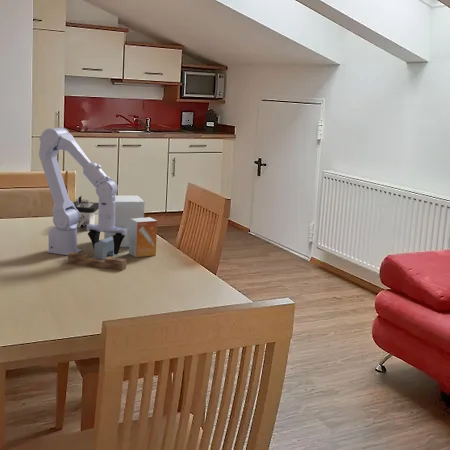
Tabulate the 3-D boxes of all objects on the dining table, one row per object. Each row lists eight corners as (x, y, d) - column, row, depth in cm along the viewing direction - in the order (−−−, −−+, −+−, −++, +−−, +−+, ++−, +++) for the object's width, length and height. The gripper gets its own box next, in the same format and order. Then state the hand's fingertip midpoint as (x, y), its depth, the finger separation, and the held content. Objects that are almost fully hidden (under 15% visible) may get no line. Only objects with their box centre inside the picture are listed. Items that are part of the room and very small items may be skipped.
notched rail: (67, 262, 218) (67, 253, 217) (72, 260, 221) (72, 251, 220) (122, 270, 213) (122, 261, 212) (126, 268, 216) (126, 258, 215)
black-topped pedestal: (61, 220, 282) (61, 189, 279) (121, 223, 282) (121, 193, 279) (41, 234, 255) (41, 201, 252) (107, 238, 254) (108, 205, 251)
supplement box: (137, 238, 256) (138, 195, 253) (143, 246, 244) (145, 201, 241) (103, 239, 252) (104, 195, 248) (108, 247, 240) (109, 201, 236)
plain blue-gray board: (94, 260, 222) (94, 243, 221) (109, 252, 234) (109, 236, 232) (102, 261, 222) (102, 244, 220) (117, 253, 233) (117, 237, 232)
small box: (136, 257, 229) (137, 222, 226) (128, 253, 234) (129, 218, 231) (156, 255, 233) (157, 220, 230) (148, 251, 238) (149, 216, 236)
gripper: (82, 214, 223) (82, 252, 225) (121, 219, 219) (120, 257, 222) (92, 210, 229) (91, 247, 232) (129, 215, 225) (128, 252, 228)
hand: (106, 252), depth 227 cm, fingers open, 7 cm apart
